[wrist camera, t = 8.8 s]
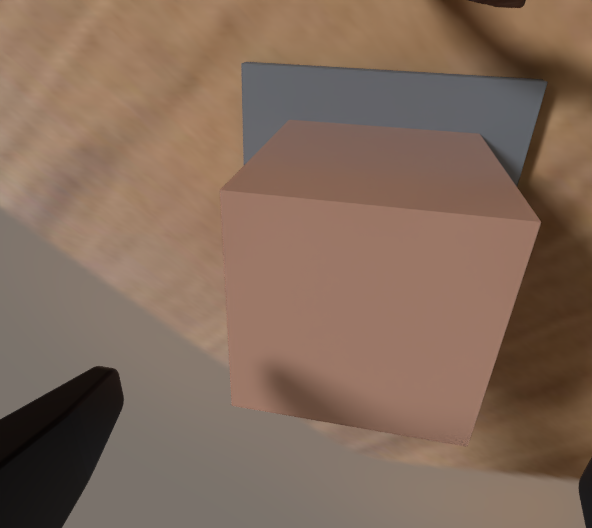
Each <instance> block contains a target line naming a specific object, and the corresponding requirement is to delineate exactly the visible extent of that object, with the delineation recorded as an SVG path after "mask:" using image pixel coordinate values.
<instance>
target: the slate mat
mask: <svg viewBox="0 0 592 528" xmlns="http://www.w3.org/2000/svg"><path fill="white" fill-rule="evenodd" d="M241 64H242V108H243V151H244V165H245V164H246V163H247V162H248V161H249V160H250V159H251V158H252V157H253V156H254V155H255V154H256V153H257V152H258V151H259V150H260V149H261V148H262V147H263V146H264V145H265V144H266V143H267V142H268V141H269V140H270V139H271V138H272V137H273V136H274V134H275V133H276V132H277V131H278V130H279V129H280V128H281V127H282V126H283V125H284V124H285V123H286V122H287V121H288V120H301V121H315V122H328V123H342V124H355V125H369V126H383V127H396V128H410V129H423V130H437V131H451V132H464V133H478V134H480V135H481V136H482V138H483V139H484V141H485V142H486V144H487V145H488V146H489V148H490V149H491V151H492V152H493V154H494V155H495V157H496V158H497V159H498V161H499V162H500V164H501V165H502V167H503V168H504V169H505V171H506V172H507V174H508V175H509V177H510V178H511V179H512V181H513V182H514V184H515V185H516V187H517V185H518V182H519V178H520V175H521V171H522V168H523V165H524V161H525V158H526V154H527V151H528V147H529V144H530V141H531V137H532V134H533V130H534V127H535V123H536V120H537V117H538V113H539V110H540V106H541V103H542V99H543V96H544V92H545V89H546V86H547V81H545V80H543V79H528V78H511V77H494V76H477V75H460V74H443V73H426V72H409V71H393V70H376V69H359V68H342V67H325V66H308V65H291V64H274V63H257V62H244V63H241Z"/></svg>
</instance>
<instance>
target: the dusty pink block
mask: <svg viewBox="0 0 592 528" xmlns="http://www.w3.org/2000/svg"><path fill="white" fill-rule="evenodd" d="M220 201H221V219H222V237H223V255H224V273H225V292H226V310H227V328H228V346H229V364H230V382H231V400H232V406H236V407H242V408H248V409H254V410H259V411H265V412H271V413H277V414H282V415H288V416H294V417H300V418H306V419H311V420H317V421H323V422H329V423H334V424H340V425H346V426H352V427H357V428H363V429H369V430H375V431H380V432H386V433H392V434H398V435H403V436H409V437H415V438H421V439H427V440H432V441H438V442H444V443H450V444H455V445H461V446H468V443H469V440H470V437H471V434H472V431H473V428H474V425H475V422H476V419H477V416H478V413H479V410H480V407H481V404H482V401H483V398H484V395H485V392H486V389H487V386H488V382H489V379H490V376H491V373H492V370H493V367H494V364H495V361H496V358H497V355H498V352H499V349H500V346H501V343H502V340H503V337H504V334H505V331H506V328H507V325H508V322H509V318H510V315H511V312H512V309H513V306H514V303H515V300H516V297H517V294H518V291H519V288H520V285H521V282H522V279H523V276H524V273H525V270H526V267H527V264H528V261H529V258H530V255H531V251H532V248H533V245H534V242H535V239H536V236H537V233H538V230H539V227H540V224H541V221H540V220H539V218H538V217H537V215H536V214H535V212H534V211H533V210H532V208H531V207H530V205H529V204H528V202H527V201H526V200H525V198H524V197H523V195H522V194H521V192H520V191H519V190H518V188H517V187H516V185H515V184H514V182H513V181H512V179H511V178H510V177H509V175H508V174H507V172H506V171H505V169H504V168H503V167H502V165H501V164H500V162H499V161H498V159H497V158H496V157H495V155H494V154H493V152H492V151H491V149H490V148H489V146H488V145H487V144H486V142H485V141H484V139H483V138H482V136H481V135H480V134H478V133H464V132H451V131H437V130H423V129H410V128H396V127H383V126H369V125H355V124H342V123H328V122H315V121H301V120H288V121H287V122H286V123H285V124H284V125H283V126H282V127H281V128H280V129H279V130H278V131H277V132H276V133H275V134H274V136H273V137H272V138H271V139H270V140H269V141H268V142H267V143H266V144H265V145H264V146H263V147H262V148H261V149H260V150H259V151H258V152H257V153H256V154H255V155H254V156H253V157H252V158H251V159H250V160H249V161H248V162H247V163H246V164H245V165H244V166H243V167H242V168H241V169H240V170H239V171H238V172H237V173H236V174H235V175H234V176H233V177H232V178H231V179H230V180H229V181H228V182H227V183H226V184H225V185H224V186H223V187H222V188H221V189H220Z"/></svg>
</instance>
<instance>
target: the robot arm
mask: <svg viewBox="0 0 592 528" xmlns="http://www.w3.org/2000/svg"><path fill="white" fill-rule="evenodd" d="M123 401H124V397H123V392H122V387H121V382H120V377H119V373H118V371H117V370H116V369H114V368H109V367H103V366H96V367H93V368H91V369H90V370H88V371H86V372H84V373H82V374H81V375H79V376H77V377H75V378H73V379H72V380H70V381H68V382H66V383H65V384H63V385H61V386H60V387H58V388H56V389H54V390H52V391H50V392H48V393H47V394H45V395H43V396H41V397H40V398H38V399H36V400H34V401H32V402H30V403H29V404H27V405H25V406H23V407H22V408H20V409H18V410H16V411H14V412H13V413H11V414H9V415H7V416H5V417H4V418H2V419H0V528H62V526H63V525H64V523H65V521H66V520H67V518H68V516H69V515H70V513H71V511H72V509H73V508H74V506H75V504H76V503H77V501H78V499H79V497H80V496H81V494H82V492H83V490H84V489H85V487H86V485H87V483H88V481H89V480H90V477H91V475H92V473H93V471H94V469H95V467H96V465H97V463H98V461H99V458H100V456H101V454H102V452H103V450H104V447H105V445H106V443H107V441H108V438H109V436H110V434H111V432H112V430H113V428H114V425H115V423H116V421H117V419H118V417H119V414H120V412H121V410H122V407H123ZM579 495H580V500H581V505H582V510H583V515H584V520H585V525H586V528H592V458H591V460H590V461H589V463H588V465H587V467H586V469H585V470H584V472H583V474H582V476H581V478H580V481H579Z"/></svg>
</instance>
